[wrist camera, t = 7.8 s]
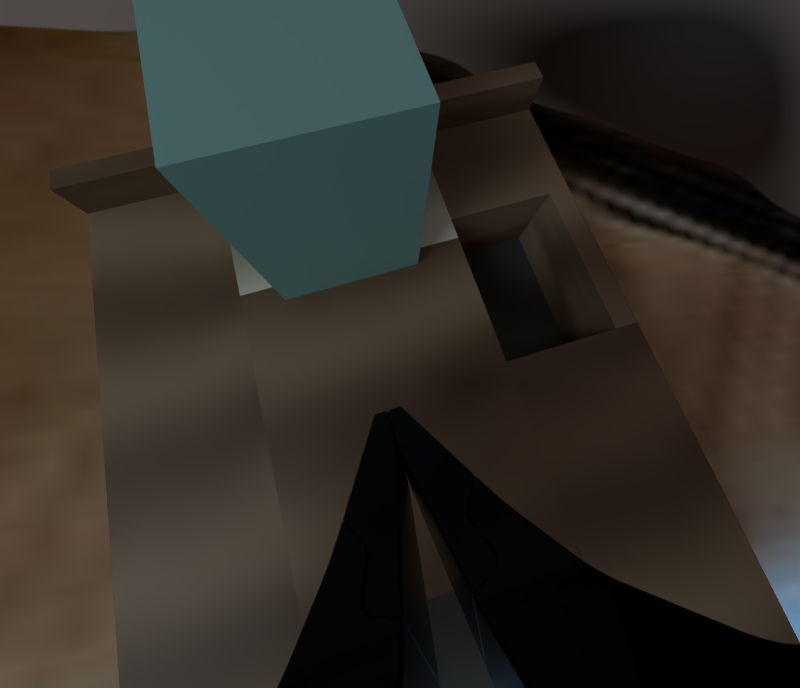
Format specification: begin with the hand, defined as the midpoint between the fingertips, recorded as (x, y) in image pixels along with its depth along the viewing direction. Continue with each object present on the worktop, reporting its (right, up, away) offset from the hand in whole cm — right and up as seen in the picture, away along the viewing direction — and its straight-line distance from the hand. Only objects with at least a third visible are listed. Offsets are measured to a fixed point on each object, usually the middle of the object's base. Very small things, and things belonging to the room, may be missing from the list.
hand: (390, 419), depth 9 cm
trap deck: (0, -1, +7) cm, 7 cm away
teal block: (-3, +8, +5) cm, 9 cm away
